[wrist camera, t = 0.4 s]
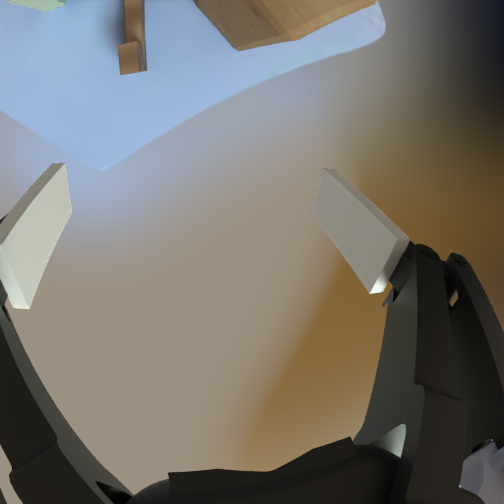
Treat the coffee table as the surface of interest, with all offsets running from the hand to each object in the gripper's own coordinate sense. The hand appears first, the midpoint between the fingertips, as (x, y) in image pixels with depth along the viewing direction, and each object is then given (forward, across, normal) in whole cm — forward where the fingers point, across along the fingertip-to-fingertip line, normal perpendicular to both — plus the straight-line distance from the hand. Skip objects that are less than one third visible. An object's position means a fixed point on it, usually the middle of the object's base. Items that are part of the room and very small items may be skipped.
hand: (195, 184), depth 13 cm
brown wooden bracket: (+27, -8, +13) cm, 30 cm away
